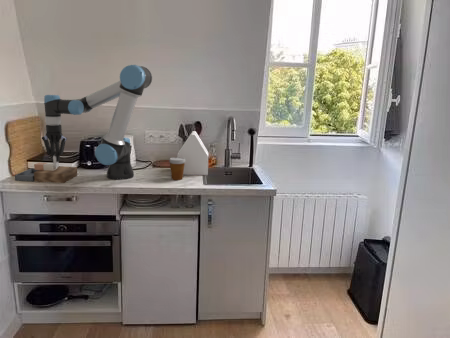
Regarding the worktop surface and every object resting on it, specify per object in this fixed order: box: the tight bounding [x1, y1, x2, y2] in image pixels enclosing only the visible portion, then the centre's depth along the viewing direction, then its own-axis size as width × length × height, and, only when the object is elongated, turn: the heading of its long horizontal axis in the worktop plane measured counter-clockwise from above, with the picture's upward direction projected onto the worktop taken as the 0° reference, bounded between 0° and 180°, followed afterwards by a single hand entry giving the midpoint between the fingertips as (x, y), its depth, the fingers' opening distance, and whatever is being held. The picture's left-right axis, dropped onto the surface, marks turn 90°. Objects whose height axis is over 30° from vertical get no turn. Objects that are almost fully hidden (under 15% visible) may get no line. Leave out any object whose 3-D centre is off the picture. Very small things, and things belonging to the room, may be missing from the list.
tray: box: [14, 167, 38, 182], centre depth 195 cm, size 10×16×3 cm, turn 179°
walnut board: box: [34, 165, 78, 184], centre depth 194 cm, size 16×16×5 cm
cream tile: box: [43, 162, 57, 171], centre depth 193 cm, size 5×5×3 cm
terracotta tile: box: [33, 161, 48, 170], centre depth 193 cm, size 5×5×3 cm
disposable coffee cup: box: [168, 156, 186, 181], centre depth 204 cm, size 10×10×12 cm
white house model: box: [176, 130, 209, 176], centre depth 221 cm, size 19×15×25 cm
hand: (56, 167), depth 193 cm, fingers closed
